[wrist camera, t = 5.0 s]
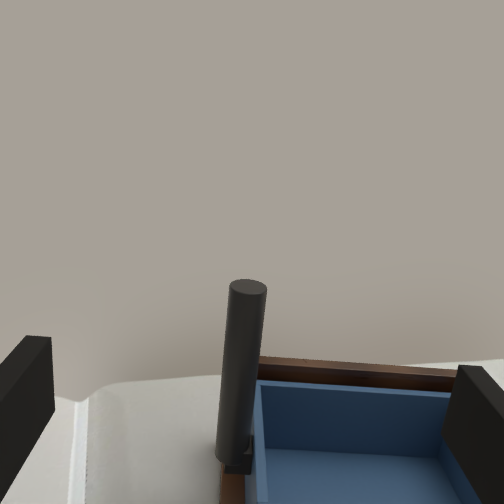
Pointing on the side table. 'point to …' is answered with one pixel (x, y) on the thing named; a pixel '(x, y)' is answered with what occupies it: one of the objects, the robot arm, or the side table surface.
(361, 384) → the walnut drawer box
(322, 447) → the blue drawer insert
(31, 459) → the side table surface
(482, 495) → the robot arm
